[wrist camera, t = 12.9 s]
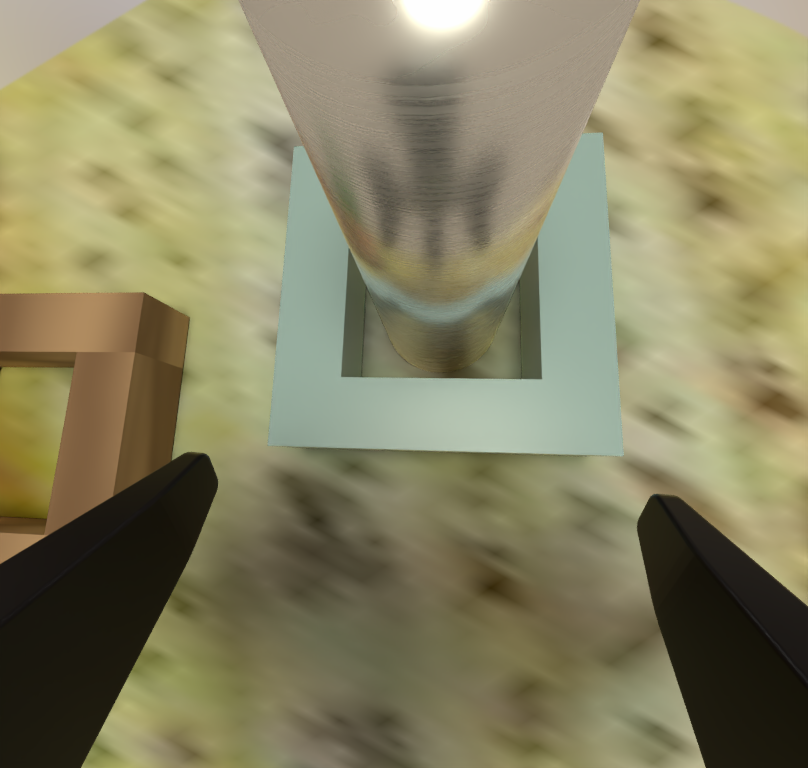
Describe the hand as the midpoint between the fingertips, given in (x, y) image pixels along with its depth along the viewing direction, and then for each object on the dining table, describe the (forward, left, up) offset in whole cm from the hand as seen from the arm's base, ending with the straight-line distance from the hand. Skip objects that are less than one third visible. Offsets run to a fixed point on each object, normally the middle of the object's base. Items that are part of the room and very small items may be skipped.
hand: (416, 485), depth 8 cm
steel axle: (0, -7, -9) cm, 11 cm away
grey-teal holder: (0, -7, -9) cm, 11 cm away
